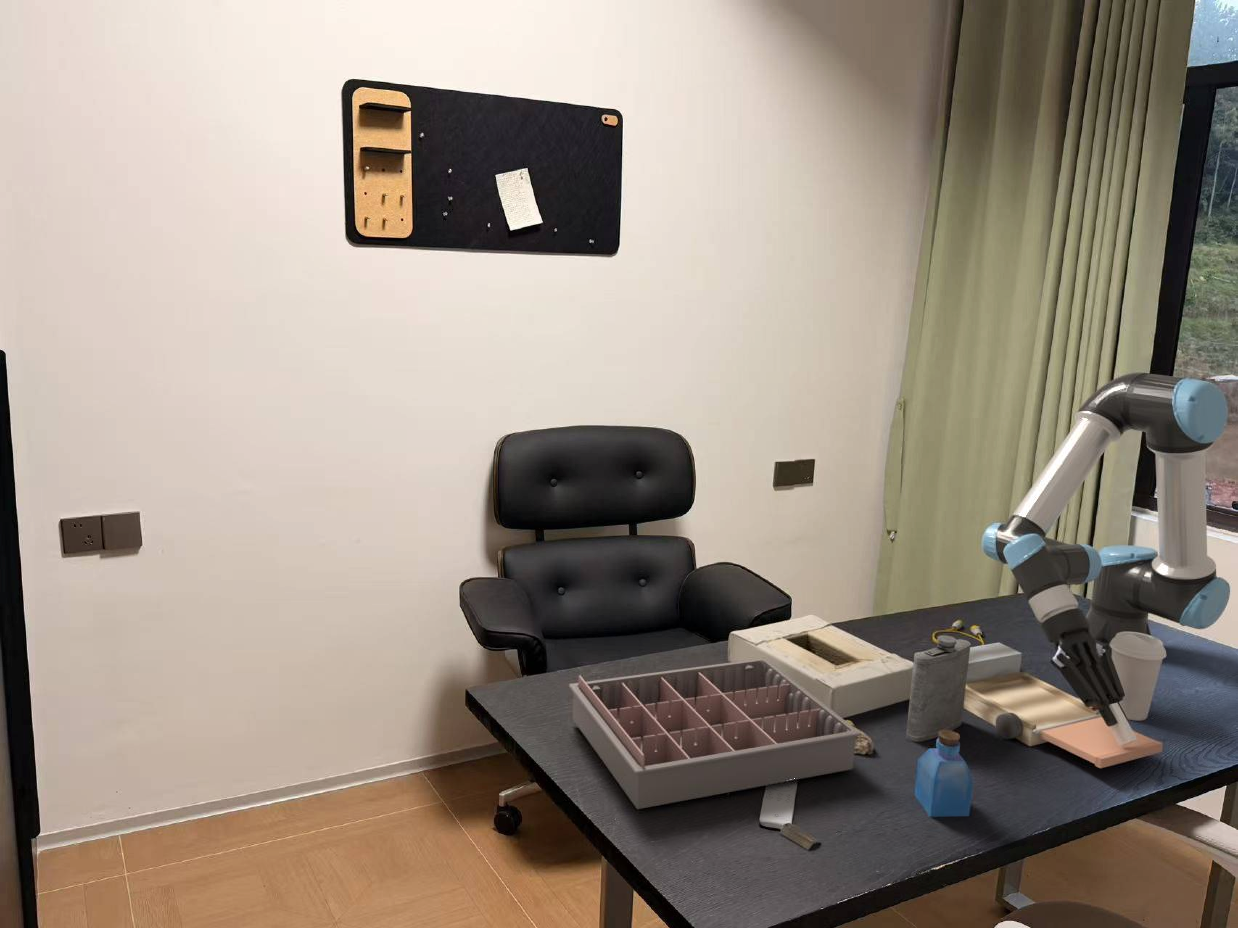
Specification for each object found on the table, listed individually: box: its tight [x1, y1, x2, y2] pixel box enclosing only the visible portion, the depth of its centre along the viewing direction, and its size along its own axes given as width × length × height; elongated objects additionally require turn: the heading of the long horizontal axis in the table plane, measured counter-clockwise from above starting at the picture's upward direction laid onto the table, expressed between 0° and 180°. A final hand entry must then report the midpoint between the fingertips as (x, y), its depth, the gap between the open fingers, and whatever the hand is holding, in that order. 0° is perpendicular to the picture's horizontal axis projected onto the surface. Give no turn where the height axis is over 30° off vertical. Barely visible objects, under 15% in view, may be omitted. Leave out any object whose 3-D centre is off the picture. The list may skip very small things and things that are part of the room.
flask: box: [905, 635, 972, 743], centre depth 175 cm, size 4×14×18 cm, turn 126°
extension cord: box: [932, 619, 986, 646], centre depth 221 cm, size 12×16×2 cm
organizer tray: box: [568, 658, 862, 810], centre depth 166 cm, size 32×40×10 cm
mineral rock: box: [845, 719, 875, 756], centre depth 171 cm, size 11×4×8 cm
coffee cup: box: [1110, 632, 1167, 722], centre depth 185 cm, size 10×10×15 cm
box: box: [727, 614, 914, 719], centre depth 197 cm, size 23×8×32 cm
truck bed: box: [963, 642, 1100, 747], centre depth 186 cm, size 24×21×8 cm
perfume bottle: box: [914, 730, 974, 818], centre depth 151 cm, size 6×6×12 cm
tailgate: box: [1032, 714, 1164, 769], centre depth 169 cm, size 2×17×13 cm
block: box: [779, 822, 822, 852], centre depth 143 cm, size 4×6×2 cm, turn 40°
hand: (1128, 742), depth 164 cm, fingers closed
